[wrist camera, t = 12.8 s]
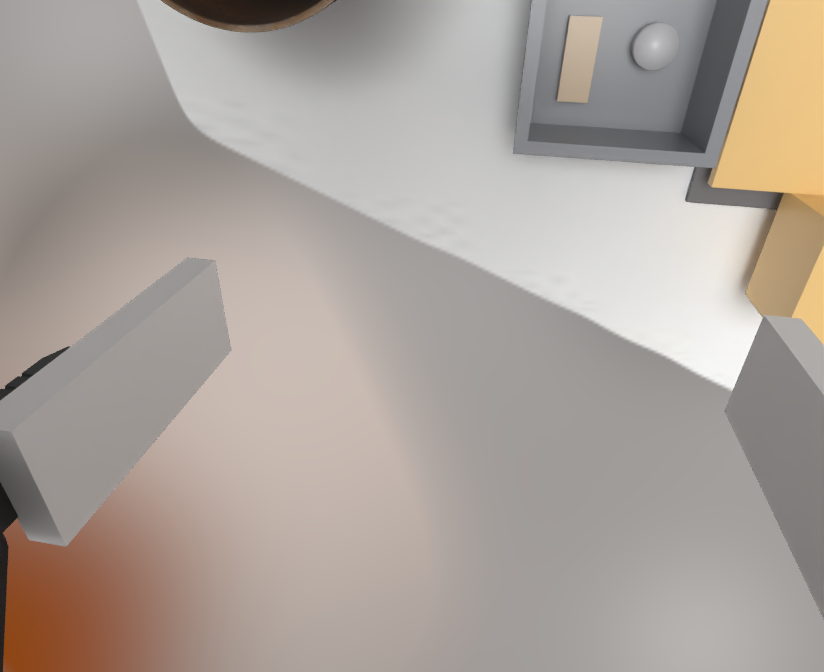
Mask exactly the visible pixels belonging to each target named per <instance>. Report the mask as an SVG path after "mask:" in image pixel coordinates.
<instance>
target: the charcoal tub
mask: <svg viewBox="0 0 824 672" xmlns="http://www.w3.org/2000/svg"><path fill="white" fill-rule="evenodd" d="M767 1H768V0H532V1H531V9H530V17H529V25H528V34H527V42H526V50H525V58H524V66H523V74H522V82H521V91H520V99H519V107H518V115H517V123H516V131H515V141H514V150H513V154H527V155H540V156H554V157H568V158H582V159H595V160H609V161H623V162H636V163H650V164H664V165H678V166H691V167H705V168H715V167H716V163H717V160H718V157H719V154H720V151H721V148H722V144H723V141H724V138H725V135H726V132H727V128H728V125H729V122H730V119H731V116H732V113H733V109H734V106H735V103H736V100H737V97H738V93H739V90H740V87H741V84H742V81H743V78H744V74H745V71H746V68H747V65H748V62H749V58H750V55H751V52H752V49H753V46H754V43H755V39H756V36H757V33H758V30H759V27H760V24H761V20H762V17H763V14H764V11H765V8H766V4H767Z"/></svg>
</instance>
